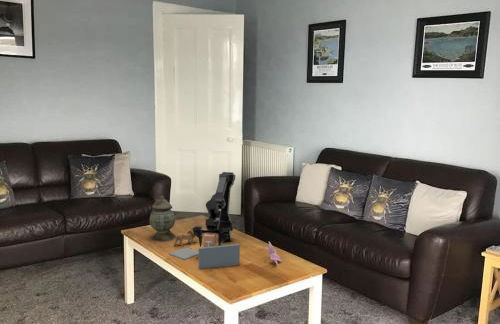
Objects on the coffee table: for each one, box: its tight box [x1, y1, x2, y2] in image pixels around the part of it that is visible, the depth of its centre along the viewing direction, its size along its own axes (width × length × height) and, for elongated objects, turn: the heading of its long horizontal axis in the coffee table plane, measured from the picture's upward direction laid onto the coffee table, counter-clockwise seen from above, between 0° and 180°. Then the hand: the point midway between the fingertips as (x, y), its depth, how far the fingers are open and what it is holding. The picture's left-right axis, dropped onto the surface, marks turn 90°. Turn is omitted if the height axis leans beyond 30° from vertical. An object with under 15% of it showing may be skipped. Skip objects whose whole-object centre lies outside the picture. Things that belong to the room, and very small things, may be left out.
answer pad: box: [168, 247, 199, 261], centre depth 238 cm, size 12×12×1 cm
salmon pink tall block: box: [203, 233, 217, 247], centre depth 227 cm, size 5×5×14 cm
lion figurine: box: [173, 226, 196, 247], centre depth 252 cm, size 15×5×9 cm, turn 131°
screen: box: [198, 243, 241, 270], centre depth 221 cm, size 20×2×10 cm, turn 107°
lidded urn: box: [149, 195, 177, 242], centre depth 262 cm, size 14×14×25 cm
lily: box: [263, 241, 283, 266], centre depth 227 cm, size 12×12×10 cm
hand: (209, 247), depth 226 cm, fingers open, 9 cm apart
